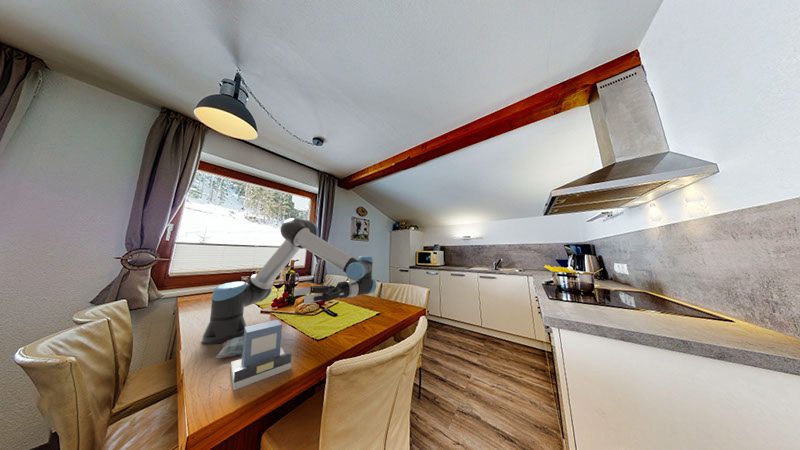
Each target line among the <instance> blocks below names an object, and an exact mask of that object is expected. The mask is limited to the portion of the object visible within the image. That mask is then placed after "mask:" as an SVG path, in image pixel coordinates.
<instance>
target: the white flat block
mask: <svg viewBox="0 0 800 450" xmlns="http://www.w3.org/2000/svg"><path fill="white" fill-rule="evenodd" d="M241 362H242V358H239V359H237V360H232V361H231V362H230V372H231V374H230V376H231V382H232V383H231V384H232V391H235V390H238V389H241V388H243V387H246V386H248V385H252V384H255V383H256V382H260V381H262V380H265V379H267V378H271V377H273V376H276V375H277V374H280V373H283V372H285V371H288V370H291V367H292V365H291V364H292V352H291V351H289V352H286V353H285V351H284V349H283V347H280V356H277V357H273V358H270V359H267V360H264V361H261V362H258V363H255V364H252V365H249V366H246V367H243V368H242V365H241Z"/></svg>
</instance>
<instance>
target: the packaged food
mask: <svg viewBox="0 0 800 450" xmlns="http://www.w3.org/2000/svg"><path fill="white" fill-rule="evenodd" d="M243 340H244V336H241V337H237V338H233V339H231V340H228V341H226V342H222V349H221V350H220V351H219V353H218V354H217V355H216V356H215V359H217V358H219V359H224V358H230V357H235V356H242V351H243Z"/></svg>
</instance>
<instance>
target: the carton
mask: <svg viewBox="0 0 800 450" xmlns="http://www.w3.org/2000/svg"><path fill="white" fill-rule="evenodd" d="M282 329H283V324H282V323H281V321H280V320H279V319H274V320H271V321H266V322H262V323H261V322H260V323H257V324H252V325H246V327H245V329H244V335H243V337H244V340H243V351H242V354H241V359H242V362H241V365H242V368H243V367H246V366H249V365H252V364H255V363H258V362H261V361H264V360H267V359H270V358H273V357H277V356H280V347H281V345H282V344H281V343H282V334H283V333H282V332H283V331H282ZM281 348H282V347H281Z"/></svg>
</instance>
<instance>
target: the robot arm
mask: <svg viewBox="0 0 800 450" xmlns="http://www.w3.org/2000/svg"><path fill="white" fill-rule="evenodd" d="M280 234H281V236H282V237H283V239H284V241H283V243H282V244H281V245H280V246H279V247H278V249H277V250H276V251H275V252H274V253H273V254H272V256H271V257H270V258H269V259H268V261H267V262H266V263H265V264H264V265H263V266H262V268H261V269H260V270H259V271H258V273H254V274H252V275H251V276H250V277H249V278H248V280H247V281H246V282H245V281H238V280H237V281H231V282H225V283H223V284H219V285H217V286H216V287H214V289H213V292H212V295H211V304H210V305H211V307H210V318H209V322H208V324H207V327H206V328H205V331H204V332H203V334H202V340H201V341H202V342H201V343H203V344H206V345H213V344H221V343H222V344H223V343H225V342H226V341H228V340H231V339H233V338H237V337H243V336H244V329H245V327H246V326H247V324H246V321H245V318H244V309H245V307H248V306H252V305H254V304H257V303H260V302H262V301H264V300H265V299H267V298H268V297H269V296H270V295H271V293H272V291H273V290H272V288H273V286H274V283H273V282H274V281H275V280H276V278H277V277H278V276H279V275H280V273H281V272H282V271H283V270H284V269H285V268H286V266H287V265H288V264H289V262H290V261H291V260H292V259H293V258H294V257H295V255H296V254H297V253H298V252H299V250H303V249H305V250H307V251H309V252H310V253H312V254H313V255H315V256H317V257H318V258H320V259H322V260H323V261H325V262H327V263H328V264H330V265H332V266H333V267H335V268H337V269H338V270H340V271H341V272H343V273H345V274H346V276H347V277H348V278H349V279H350V280H345V281H339V282H337V284H336V286H335V285H310V286H309V287H301V288H294V290H293V297H297V296H303V297H304V299H303V304H304V305H305V304H311V303H316V302H321V301H322V302H324V301H325V302H327V303H328V302H331V301H333V300H336V299H346V298H351V299H352V298H353V297H357V296H363V295H369V294H373V293H374V292H375V291H376V289H377V281H376V279H375V278H373V264H374V262H373V256H371V255H359V256H358V258H357V259H356V258H355V257H354V256H351V255H350V254H348V253H346V252H345V251H343V250H341V249H340V248H338V247H336V246H335V245H333V244H332V243H330V242H328V241H326V240H324V239H323V238H321V237H319V228H318V225H317V224H316V223H315V222H313V221H311V220H308V219H307V220H305V219H301V218H298V217H292V218H288V219H286V220H285V221H283V223H282V224H281V226H280Z"/></svg>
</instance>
